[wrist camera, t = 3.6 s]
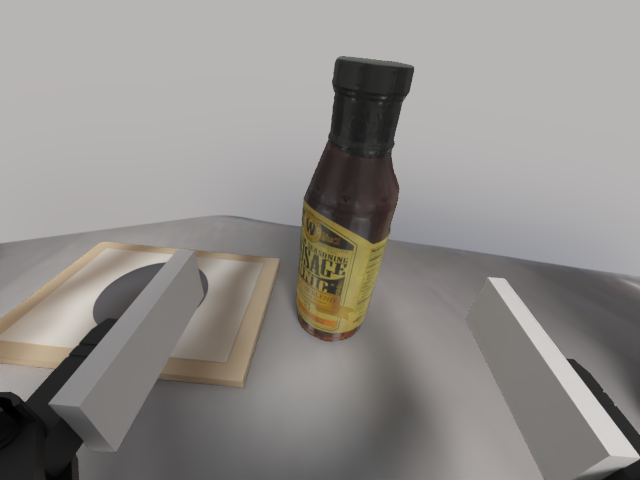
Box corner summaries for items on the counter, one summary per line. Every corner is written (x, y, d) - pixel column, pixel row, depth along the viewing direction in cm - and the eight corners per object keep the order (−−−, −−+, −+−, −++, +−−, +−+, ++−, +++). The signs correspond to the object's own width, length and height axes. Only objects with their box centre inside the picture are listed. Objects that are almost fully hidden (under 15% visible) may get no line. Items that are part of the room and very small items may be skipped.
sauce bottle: (283, 307, 26) (283, 50, 15) (336, 284, 29) (368, 58, 18) (323, 363, 22) (365, 57, 11) (380, 329, 25) (458, 66, 14)
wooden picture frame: (279, 264, 31) (279, 257, 31) (243, 387, 20) (242, 379, 19) (104, 247, 31) (100, 240, 31) (-37, 359, 20) (-45, 350, 19)
